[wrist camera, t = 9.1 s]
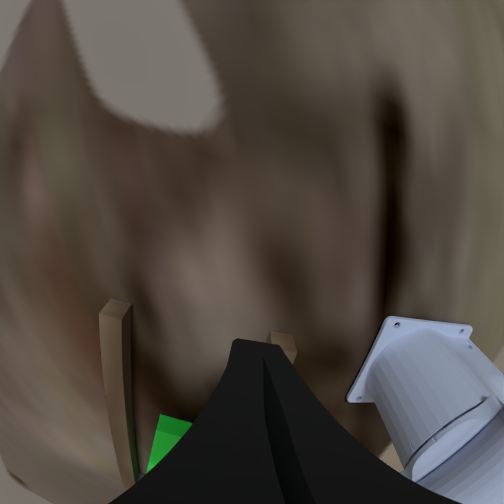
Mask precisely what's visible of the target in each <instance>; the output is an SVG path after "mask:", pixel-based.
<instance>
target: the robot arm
mask: <svg viewBox="0 0 504 504" xmlns="http://www.w3.org/2000/svg"><path fill="white" fill-rule="evenodd" d="M397 322H398V323H397ZM395 323H397V325H395ZM394 325H395V326H394ZM472 330H473V328H472V327H471V326H470V325H464V324H455V323H446V322H437V321H428V320H420V319H412V318H404V317H396V316H389V317H387V318H386V319H385V320H384V322H383V324H382V326H381V329H380V331H379V333H378V335H377V337H376V340H375V342H374V344H373V346H372V348H371V350H370V352H369V354H368V356H367V358H366V360H365V362H364V364H363V366H362V368H361V370H360V372H359V374H358V376H357V378H356V380H355V382H354V383H353V385H352V387H351V389H350V391H349V393H348V394H347V400H348V402H374V403H375V405H376V407H377V409H378V411H379V413H380V416H381V418H382V420H383V422H384V424H385V427H386V429H387V431H388V433H389V436H390V438H391V440H392V442H393V445H394V447H395V449H396V451H397V454H398V456H399V458H400V461H401V463H402V465H403V468H404V470H403V471H402V472H401V473H399V472H397V471H396V470H394V469H393V468H391V467H390V466H388V465H387V464H386V463H384V462H383V461H382V460H380V459H379V458H377V457H376V456H375V455H373V454H372V453H371V452H370V451H368V450H367V449H366V448H365V447H364V446H362V445H361V444H360V443H359V442H358V441H357V440H356V439H355V438H354V437H353V436H352V435H350V434H349V433H348V432H347V431H346V430H345V429H344V428H343V427H342V426H341V425H340V424H339V423H338V422H337V421H336V420H335V419H334V417H333V416H332V415H331V414H330V413H329V412H328V411H327V409H326V408H325V407H324V406H323V405H322V404H321V403H320V401H319V400H318V399H317V398H316V396H315V395H314V394H313V392H312V391H311V390H310V388H309V387H308V386H307V385H306V383H305V382H304V380H303V379H302V378H301V376H300V375H299V373H298V372H297V370H296V369H295V368H294V366H293V365H292V363H291V362H290V360H289V359H288V357H287V356H286V354H285V353H284V351H283V350H282V348H281V347H280V345H277V344H270V343H264V342H257V341H251V340H244V339H238V338H237V339H235V340H234V341H233V342H232V346H231V351H230V355H229V359H228V363H227V367H226V369H225V371H224V373H223V376H222V378H221V380H220V382H219V384H218V386H217V387H216V389H215V391H214V392H213V394H212V396H211V397H210V399H209V401H208V402H207V404H206V406H205V407H204V409H203V410H202V411H201V413H200V414H199V416H198V417H197V419H196V420H195V421H194V423H193V424H192V425H191V426H190V428H189V429H188V430H187V432H186V433H185V434H184V435H183V436H182V437H181V439H180V440H179V441H178V442H177V443H176V444H175V445H174V447H173V448H172V449H171V450H170V451H169V452H168V453H167V454H166V455H165V456H164V457H163V458H162V459H161V460H160V461H159V462H158V463H157V464H156V465H155V466H154V467H153V468H152V469H151V470H150V471H149V472H147V473H146V474H145V475H144V476H143V477H142V478H141V479H140V480H139V481H137V482H136V483H135V484H134V485H133V486H132V487H130V488H129V489H128V490H127V491H125V492H124V493H123V494H121V495H120V496H119V497H117V498H116V499H114V500H113V501H112V502H110V503H109V504H504V375H503V374H502V373H501V372H500V371H499V370H498V369H497V368H496V366H495V365H494V364H493V363H492V362H491V361H490V360H489V359H488V358H487V357H486V356H485V355H484V354H483V353H482V352H481V351H480V350H479V348H478V347H477V346H476V345H475V344H474V343H473V342H472V341H471V340H470V339H469V337H470V335H471V333H472Z"/></svg>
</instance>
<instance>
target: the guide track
mask: <svg viewBox="0 0 504 504" xmlns="http://www.w3.org/2000/svg"><path fill="white" fill-rule="evenodd" d="M131 312H132V304H131V303H127V302H123V301H119V300H115V299H110V300H109V301H108V303H107V304H106V305H105V306H104V308H103V309H102V310H101V312H100V313H99V327H100V344H101V357H102V368H103V378H104V387H105V395H106V402H107V409H108V415H109V421H110V427H111V433H112V438H113V443H114V448H115V453H116V457H117V462H118V466H119V470H120V474H121V478H122V482H123V486H124V489H125V490H128V489H129V488H130V487H132V486H133V485H134V484H135V483H136V482H137V481H139V480H140V479H141V478H142V477H143V476H144V475H145V474H141V473H139V469H138V461H137V452H136V443H135V432H134V420H133V404H132V382H131ZM267 343H270V344H277V345H280V347H281V348H282V350H283V351H284V353H285V354H286V356H287V357H288V359H289V360H290V362H291V363H292V365H293V363H294V360H295V357H296V355H297V350H296V346H295V342H294V338H293V334H287V333H280V332H273V331H270V333H269V336H268V340H267Z"/></svg>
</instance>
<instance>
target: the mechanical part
mask: <svg viewBox="0 0 504 504" xmlns="http://www.w3.org/2000/svg"><path fill="white" fill-rule="evenodd" d="M192 424H193V423H190V422H186V421H182V420H179V419H175V418H172V417H168V416H165V415H161V414H160V417H159V421H158V425H157V429H156V433H155V438H154V442H153V446H152V451H151V455H150V460H149V464H148V469H147V472H149V471H150V470H151V469H152V468H153V467H154V466H155V465H156V464H157V463H158V462H159V461H160V460H161V459H162V458H163V457H164V456H165V455H166V454H167V453H168V452H169V451H170V450H171V449H172V448H173V447H174V445H175V444H176V443H177V442H178V441H179V440H180V439H181V437H182V436H183V435H184V434H185V433H186V432H187V430H188V429H189V428H190V426H191V425H192Z"/></svg>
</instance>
